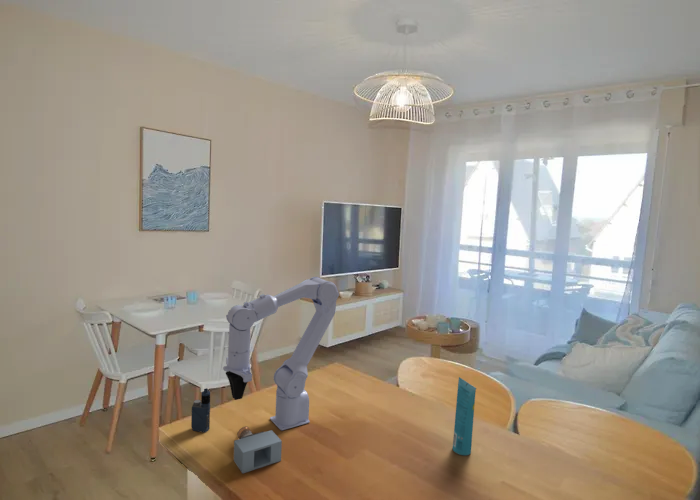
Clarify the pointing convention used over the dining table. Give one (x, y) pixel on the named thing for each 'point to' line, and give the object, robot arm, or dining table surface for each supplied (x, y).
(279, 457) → the sleeve block
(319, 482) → the dining table surface
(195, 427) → the vaping device
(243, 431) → the peg
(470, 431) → the tube
